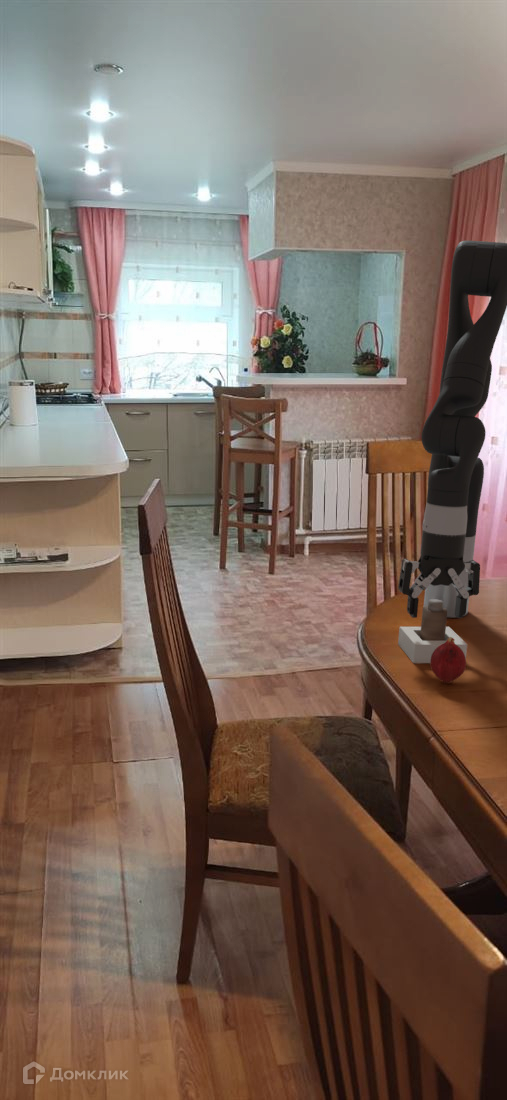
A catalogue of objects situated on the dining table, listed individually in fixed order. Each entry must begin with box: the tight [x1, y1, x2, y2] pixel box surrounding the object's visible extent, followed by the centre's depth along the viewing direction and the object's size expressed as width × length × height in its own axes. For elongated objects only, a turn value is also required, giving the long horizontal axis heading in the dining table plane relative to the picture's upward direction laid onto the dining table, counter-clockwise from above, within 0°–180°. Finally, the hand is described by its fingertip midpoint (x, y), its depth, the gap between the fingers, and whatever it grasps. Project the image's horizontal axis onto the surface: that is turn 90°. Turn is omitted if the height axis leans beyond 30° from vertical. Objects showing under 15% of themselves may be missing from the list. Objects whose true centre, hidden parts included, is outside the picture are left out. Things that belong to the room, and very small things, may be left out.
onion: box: [430, 637, 467, 684], centre depth 140 cm, size 6×6×8 cm
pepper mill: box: [420, 599, 448, 641], centre depth 153 cm, size 4×4×10 cm
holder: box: [397, 626, 468, 664], centre depth 154 cm, size 10×10×4 cm
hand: (436, 616), depth 152 cm, fingers open, 8 cm apart
